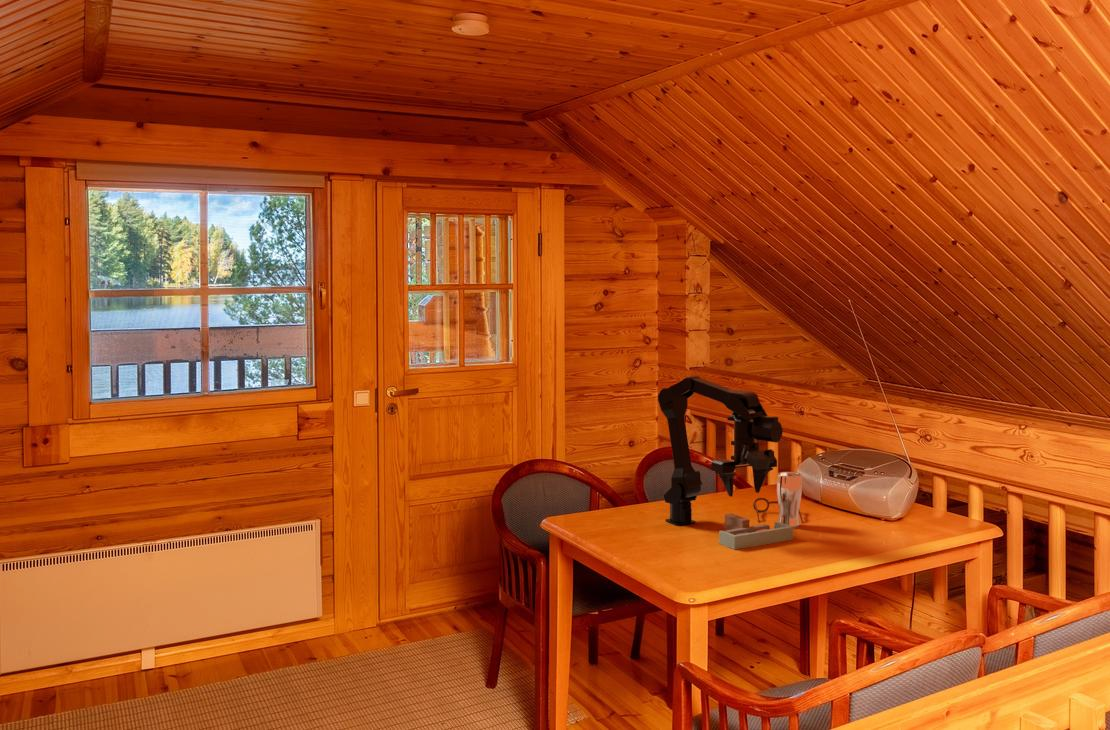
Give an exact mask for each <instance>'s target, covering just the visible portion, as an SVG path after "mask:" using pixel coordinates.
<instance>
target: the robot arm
mask: <svg viewBox="0 0 1110 730" xmlns="http://www.w3.org/2000/svg"><path fill="white" fill-rule="evenodd" d="M695 394H697V395H700V396H702V397H705V398H708V399H711V400H713V401H717V402H719V403H721V404H723V405H724V406H725V408H727V410H729V411H731V412H732V414H731V415H729V416H728V417H727V418H726V420H727V421H730V422H733V440H731V441H730V445H731V446H733V455H730V460H728V459H725V458H720V459H713V460H712V462H711V464H710V470H711V471H714V473H715V474H718V476H719V478H720V480H721V481H722V484H723V486H724V488H725V490H726V493H727V494H728V496H729V497H733V496H734V495H733V493H734V478H735V476H736V475H737V473H735V471H736V468H737V469H738V468H746V467H751V468H752V475H753V476H752V477H753V486H754V492H755V493H757V494H759V493H760V492H761V491H760V490H761V488H762V486H763V484H764V480H765V478H766V476H767V475H768V473H769V472H771V471H774V468H777V467H778V460H777V458H776V456H775V450H773V449H771V448H769V449H763V450H761V449H760V444H759V442H758V441H760V442H761V441H762V442H768V443H776V444H777V443H778V442H779V441H780V440H781V439H782V437H783V431H784V430H783V427H782V424H781V422H780V421H779V417H778V416H768V413H767V412H766V410H765V408H764V406H762V404H761V402H760V399H759V395H758V394H757V393H756V392H754V391H751V390H750V391H749V390H742V389H741V390H739V389H731V388H728V387H726V386H723V385H721V384H718V383H715V382H712V381H709V380H707V379H704V378H701V377H700V376H697V375H693V376H692V375H691V376H686V377H684V378H683V379H682V380H681V381H679V382H677V383H675V384H673V385H671V386H669V387H665V388H662V389H661V390H660V391H659V392H658V394H657V402H658V405H659V408H660V410H661V412H662V413H663V415H664V417H665V418H666V419H667V427H668V433H669V439H670V446H671V452H672V460H673V468H674V469H673V470H672V471H673V472H672V474H671V478H670V485H671V486H670V488H669V490H667V491H666V492H665V494H664V495H663V498H664V503H667V504H669V518H665V519H664V520H665V522H667V523H670V524H672V525H675V526H683V525H691V524H695V523H696V520H693V519H692V517H693V515H692V512H693V511H692V510H693V509H692V501H696V500H697V497H698V495H699V493H700V492H701V489H702V485H703V482H702V480H701V472H700V470H697V471H696V470H695V468H694V467H693V466H692V461H691V452H690V446H689V440H688V434H687V427H686V426H687V425H686V420H685V414H686V412H687V409H688V405H689V404H688V399H689V398H691V397H692V396H694V395H695ZM732 460H733V461H732Z"/></svg>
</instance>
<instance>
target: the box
mask: <svg viewBox="0 0 1110 730" xmlns="http://www.w3.org/2000/svg"><path fill="white" fill-rule="evenodd" d="M773 523H774V527H773V529H772V528H771V529H770V528H769V530H764V531H758V532H752V533H746V534H740V535H733V534H731V533H728V532H725V530H719V531H718V532H719V533H718V535H719V536H718V543H719V544H720V545H721V546H724V547H727V548H729V549H732V550H734V551H735V550H740V549H747V548H752V547H758V546H763V545H764V546H765V545H770V544H776V543H779V542H780V543H782V542H787V540H788V541H793V540H794V528H793V527H792V526H789V525H786V524H783V523H780V522H778V521H774V522H773Z"/></svg>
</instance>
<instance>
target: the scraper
mask: <svg viewBox="0 0 1110 730" xmlns="http://www.w3.org/2000/svg"><path fill="white" fill-rule="evenodd" d="M765 528H766V529H769V530H770V528H771V527H770V525H769V524H767V523H765V524H759V525H758V524H757V525H751V526H750V519H749V518H746V517H744V516H740V515H738V514H734V513H726V514H724V531H725V532H728V533H731V534H733V535H734V533H741V532H748V533H752V532H754V530H760V529H765Z"/></svg>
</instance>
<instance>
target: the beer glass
mask: <svg viewBox="0 0 1110 730" xmlns="http://www.w3.org/2000/svg"><path fill="white" fill-rule="evenodd" d="M776 481H777V482H776V496H777V501H778V503H777V504H778V508H779V514H778V515H779V516H778V520H777V522H780V523H783V524H786V525H789V526H792V527H793V529H795V528H797V529H798V528H800V520H799V519H800V517H799V513H798V512H799V510H800V505H801V501H802V500H801V499H802V491H803V483H802V481H803V479H802V474H801V473H800V472H795V471H780V472H778V473H777V480H776Z"/></svg>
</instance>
